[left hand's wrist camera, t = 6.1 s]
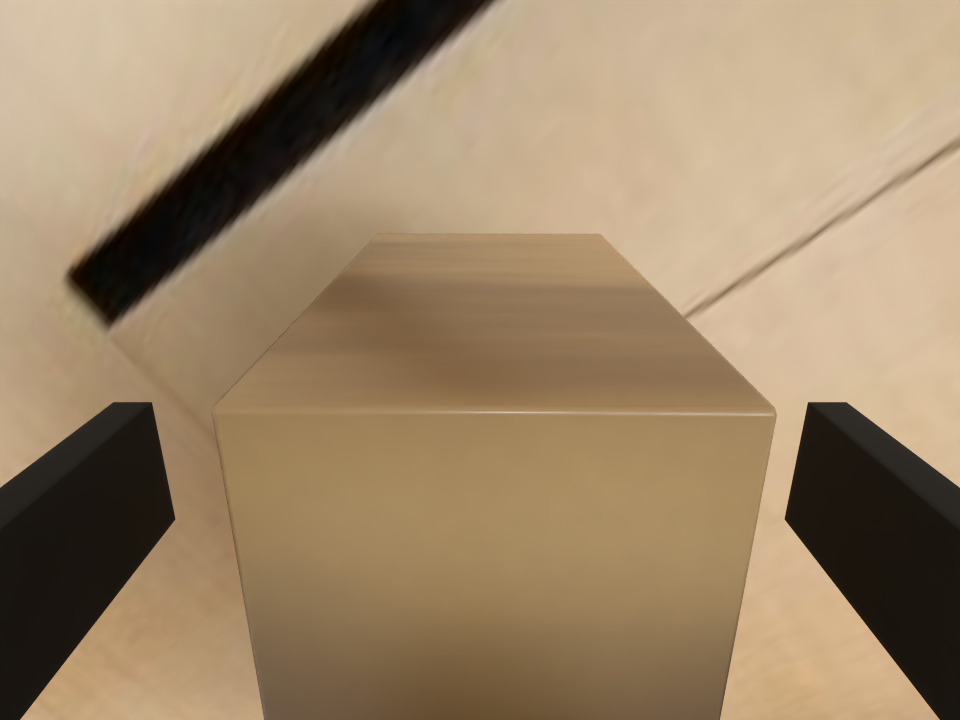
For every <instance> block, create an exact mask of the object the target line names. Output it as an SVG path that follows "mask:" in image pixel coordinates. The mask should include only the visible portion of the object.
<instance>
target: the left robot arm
mask: <svg viewBox="0 0 960 720" xmlns="http://www.w3.org/2000/svg"><path fill="white" fill-rule="evenodd" d="M174 520H175V515H174V510H173V505H172V500H171V495H170V490H169V485H168V480H167V475H166V470H165V465H164V460H163V455H162V450H161V445H160V440H159V435H158V430H157V425H156V420H155V415H154V410H153V406H152V402H113V403H112V404H111V405H109V406H108V407H107V408H105V409H104V410H103V411H101V412H100V413H99V414H98V415H96V416H95V417H94V418H92V419H91V420H90V421H88V422H87V423H86V424H84V425H83V426H82V427H80V428H79V429H78V430H76V431H75V432H74V433H72V434H71V435H70V436H68V437H67V438H66V439H64V440H63V441H62V442H60V443H59V444H58V445H56V446H55V447H54V448H52V449H51V450H50V451H48V452H47V453H46V454H44V455H43V456H42V457H40V458H39V459H38V460H37V461H35V462H34V463H33V464H31V465H30V466H29V467H27V468H26V469H25V470H23V471H22V472H21V473H19V474H18V475H17V476H15V477H14V478H13V479H11V480H10V481H9V482H7V483H6V484H5V485H3V486H2V487H1V488H0V720H20V719H21V718H22V717H23V715H24V714H25V713H26V711H27V710H28V709H29V707H30V706H31V705H32V704H33V702H34V701H35V700H36V698H37V697H38V696H39V695H40V693H41V692H42V691H43V689H44V688H45V687H46V686H47V684H48V683H49V682H50V680H51V679H52V678H53V677H54V675H55V674H56V673H57V671H58V670H59V669H60V667H61V666H62V665H63V664H64V662H65V661H66V660H67V658H68V657H69V656H70V655H71V653H72V652H73V651H74V649H75V648H76V647H77V646H78V644H79V643H80V642H81V640H82V639H83V638H84V636H85V635H86V634H87V633H88V631H89V630H90V629H91V627H92V626H93V625H94V624H95V622H96V621H97V620H98V618H99V617H100V616H101V615H102V613H103V612H104V611H105V609H106V608H107V607H108V606H109V604H110V603H111V602H112V600H113V599H114V598H115V596H116V595H117V594H118V593H119V591H120V590H121V589H122V587H123V586H124V585H125V584H126V582H127V581H128V580H129V578H130V577H131V576H132V575H133V573H134V572H135V571H136V569H137V568H138V567H139V566H140V564H141V563H142V562H143V560H144V559H145V558H146V556H147V555H148V554H149V553H150V551H151V550H152V549H153V547H154V546H155V545H156V544H157V542H158V541H159V540H160V538H161V537H162V536H163V535H164V533H165V532H166V531H167V529H168V528H169V527H170V525H171V524H172V523H173V522H174ZM785 520H786V522H787V523H788V524H789V526H790V527H791V528H792V529H793V531H794V532H795V533H796V535H797V536H798V537H799V538H800V540H801V541H802V542H803V544H804V545H805V546H806V547H807V549H808V550H809V551H810V553H811V554H812V555H813V556H814V558H815V559H816V560H817V562H818V563H819V564H820V566H821V567H822V568H823V569H824V571H825V572H826V573H827V575H828V576H829V577H830V578H831V580H832V581H833V582H834V584H835V585H836V586H837V587H838V589H839V590H840V591H841V593H842V594H843V595H844V596H845V598H846V599H847V600H848V602H849V603H850V604H851V606H852V607H853V608H854V609H855V611H856V612H857V613H858V615H859V616H860V617H861V618H862V620H863V621H864V622H865V624H866V625H867V626H868V627H869V629H870V630H871V631H872V633H873V634H874V635H875V636H876V638H877V639H878V640H879V642H880V643H881V644H882V646H883V647H884V648H885V649H886V651H887V652H888V653H889V655H890V656H891V657H892V658H893V660H894V661H895V662H896V664H897V665H898V666H899V667H900V669H901V670H902V671H903V673H904V674H905V675H906V677H907V678H908V679H909V680H910V682H911V683H912V684H913V686H914V687H915V688H916V689H917V691H918V692H919V693H920V695H921V696H922V697H923V698H924V700H925V701H926V702H927V704H928V705H929V706H930V707H931V709H932V710H933V711H934V713H935V714H936V715H937V717H938V718H939V719H940V720H960V488H959V487H958V486H957V485H955V484H954V483H953V482H951V481H950V480H949V479H947V478H946V477H945V476H943V475H942V474H941V473H939V472H938V471H937V470H935V469H934V468H933V467H931V466H930V465H929V464H927V463H926V462H925V461H923V460H922V459H921V458H920V457H918V456H917V455H916V454H914V453H913V452H912V451H910V450H909V449H908V448H906V447H905V446H904V445H902V444H901V443H900V442H898V441H897V440H896V439H894V438H893V437H892V436H890V435H889V434H888V433H886V432H885V431H884V430H882V429H881V428H880V427H878V426H877V425H876V424H874V423H873V422H872V421H870V420H869V419H868V418H866V417H865V416H864V415H862V414H861V413H860V412H859V411H857V410H856V409H855V408H853V407H852V406H851V405H849V404H848V403H847V402H808V406H807V410H806V415H805V420H804V425H803V430H802V435H801V440H800V445H799V450H798V455H797V460H796V465H795V470H794V475H793V480H792V485H791V490H790V495H789V500H788V505H787V510H786V515H785Z"/></svg>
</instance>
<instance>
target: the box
mask: <svg viewBox="0 0 960 720" xmlns="http://www.w3.org/2000/svg"><path fill="white" fill-rule="evenodd" d="M212 415H213V421H214V427H215V433H216V438H217V444H218V450H219V456H220V462H221V468H222V474H223V480H224V485H225V491H226V497H227V503H228V509H229V515H230V521H231V526H232V532H233V538H234V544H235V550H236V556H237V562H238V568H239V573H240V579H241V585H242V591H243V597H244V603H245V609H246V615H247V620H248V626H249V632H250V638H251V644H252V650H253V656H254V662H255V667H256V673H257V679H258V685H259V691H260V697H261V703H262V709H263V714H264V720H720V716H721V710H722V705H723V700H724V694H725V689H726V683H727V678H728V673H729V667H730V662H731V657H732V651H733V646H734V641H735V635H736V630H737V625H738V619H739V614H740V609H741V603H742V598H743V593H744V587H745V582H746V577H747V571H748V566H749V561H750V555H751V550H752V545H753V539H754V534H755V528H756V523H757V518H758V512H759V507H760V502H761V496H762V491H763V486H764V480H765V475H766V470H767V464H768V459H769V454H770V448H771V443H772V438H773V432H774V427H775V422H776V410H775V407H774V406H773V405H772V404H771V403H770V402H769V401H768V400H767V399H766V398H765V397H764V396H763V395H762V394H761V393H760V392H759V391H758V390H757V389H756V388H755V387H754V386H753V385H752V384H750V383H749V382H748V381H747V380H746V379H745V378H744V377H743V376H742V375H741V374H740V373H739V372H738V371H737V370H736V369H735V368H734V367H733V366H732V365H731V364H730V363H729V362H728V361H727V360H726V359H725V358H724V357H723V356H722V355H721V354H720V353H719V352H718V351H717V350H716V349H715V348H714V347H713V346H712V345H711V344H710V343H709V342H708V341H707V340H706V339H705V338H704V337H703V336H702V335H701V334H700V333H699V332H698V331H697V330H696V329H695V328H694V327H693V326H692V325H691V324H690V323H689V322H688V321H687V320H686V319H685V318H684V317H683V316H682V315H681V314H680V313H679V312H678V311H677V310H676V309H675V308H674V307H673V306H672V305H671V304H670V303H669V302H668V301H667V300H666V299H665V298H664V297H663V296H662V295H661V294H660V293H659V292H658V291H657V290H656V289H655V288H654V287H653V286H652V285H651V284H650V283H649V282H648V281H647V280H646V279H645V278H644V277H643V276H642V275H641V274H640V273H639V272H638V271H637V270H636V269H635V268H634V267H633V266H632V265H631V264H630V263H629V262H628V261H627V260H626V259H625V258H624V257H623V256H622V255H621V254H620V253H619V252H618V251H617V250H616V249H615V248H614V247H613V246H612V245H611V244H610V243H609V242H608V241H607V240H606V239H605V238H604V237H603V236H602V235H600V234H378V235H376V236H375V237H374V238H373V239H372V240H371V241H370V242H369V244H368V245H367V246H366V247H365V248H364V249H363V250H362V251H361V252H360V253H359V254H358V255H357V256H356V257H355V258H354V259H353V260H352V261H351V262H350V264H349V265H348V266H347V267H346V268H345V269H344V270H343V271H342V272H341V273H340V274H339V275H338V276H337V277H336V278H335V279H334V280H333V281H332V282H331V284H330V285H329V286H328V287H327V288H326V289H325V290H324V291H323V292H322V293H321V294H320V295H319V296H318V297H317V298H316V299H315V300H314V301H313V302H312V303H311V305H310V306H309V307H308V308H307V309H306V310H305V311H304V312H303V313H302V314H301V315H300V316H299V317H298V318H297V319H296V320H295V321H294V322H293V323H292V325H291V326H290V327H289V328H288V329H287V330H286V331H285V332H284V333H283V334H282V335H281V336H280V337H279V338H278V339H277V340H276V341H275V342H274V343H273V344H272V346H271V347H270V348H269V349H268V350H267V351H266V352H265V353H264V354H263V355H262V356H261V357H260V358H259V359H258V360H257V361H256V362H255V363H254V364H253V366H252V367H251V368H250V369H249V370H248V371H247V372H246V373H245V374H244V375H243V376H242V377H241V378H240V379H239V380H238V381H237V382H236V383H235V384H234V385H233V387H232V388H231V389H230V390H229V391H228V392H227V393H226V394H225V395H224V396H223V397H222V398H221V399H220V400H219V401H218V402H217V403H216V404H215V405H214V408H213V411H212Z"/></svg>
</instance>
